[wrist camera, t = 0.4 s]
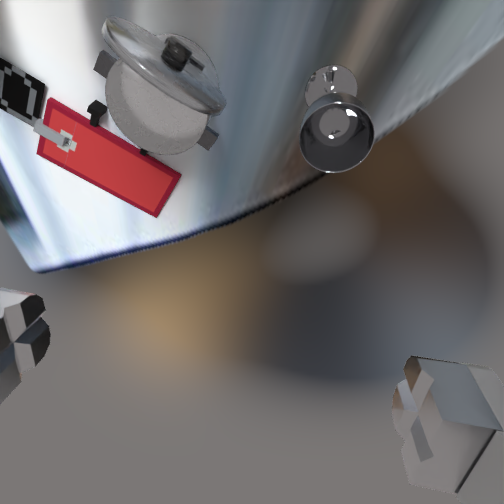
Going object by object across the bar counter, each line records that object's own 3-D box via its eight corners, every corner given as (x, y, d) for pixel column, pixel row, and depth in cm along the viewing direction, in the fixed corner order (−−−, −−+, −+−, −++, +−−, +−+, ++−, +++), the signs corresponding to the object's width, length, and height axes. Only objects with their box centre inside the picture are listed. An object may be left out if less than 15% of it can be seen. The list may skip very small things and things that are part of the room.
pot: (143, -10, 44) (116, 1, 38) (252, 79, 50) (244, 101, 43) (105, 84, 53) (77, 106, 46) (202, 152, 58) (188, 179, 52)
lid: (127, 23, 39) (139, -4, 38) (225, 99, 43) (240, 78, 42) (76, 29, 28) (91, -8, 27) (213, 130, 32) (232, 102, 31)
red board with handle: (4, 42, 50) (-5, 125, 60) (-9, 48, 48) (-16, 133, 58) (191, 156, 59) (158, 213, 69) (187, 165, 57) (153, 222, 67)
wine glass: (325, 131, 53) (329, 185, 42) (290, 91, 50) (283, 138, 39) (372, 93, 49) (389, 142, 38) (336, 47, 46) (344, 85, 35)
